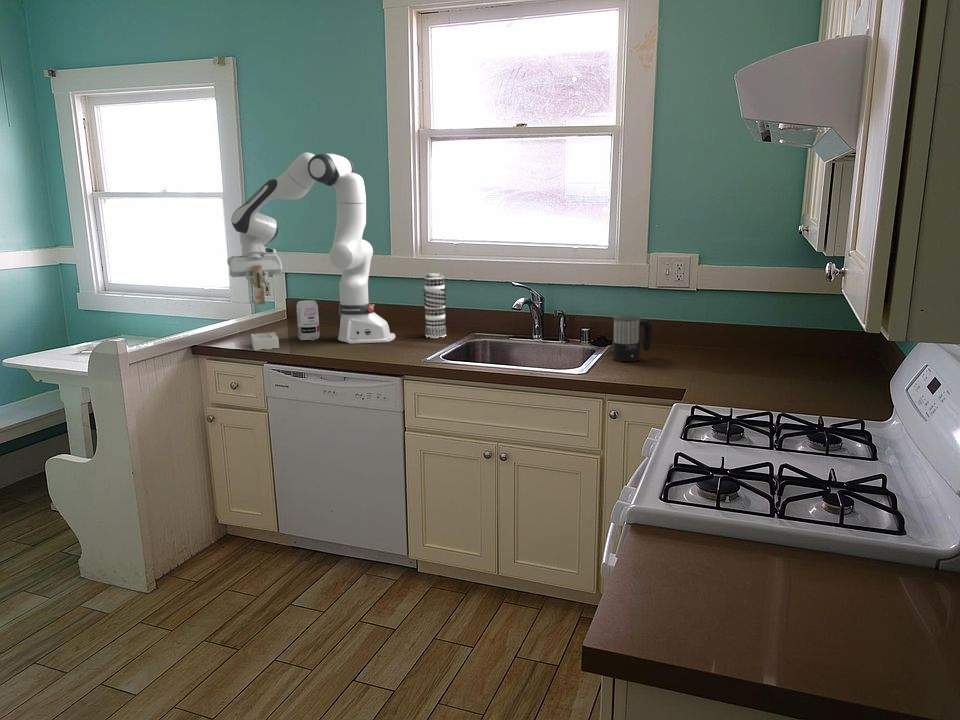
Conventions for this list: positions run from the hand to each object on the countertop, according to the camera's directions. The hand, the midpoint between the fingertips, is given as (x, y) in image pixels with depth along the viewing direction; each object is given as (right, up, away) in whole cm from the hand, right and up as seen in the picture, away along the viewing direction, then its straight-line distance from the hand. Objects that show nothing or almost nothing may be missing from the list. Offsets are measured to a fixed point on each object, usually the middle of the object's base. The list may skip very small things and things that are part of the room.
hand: (258, 282), depth 296 cm
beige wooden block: (0, -8, +3) cm, 8 cm away
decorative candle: (+69, -21, +7) cm, 73 cm away
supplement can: (+19, -22, +5) cm, 30 cm away
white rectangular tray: (+5, -25, -8) cm, 27 cm away
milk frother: (+137, -29, -33) cm, 144 cm away
